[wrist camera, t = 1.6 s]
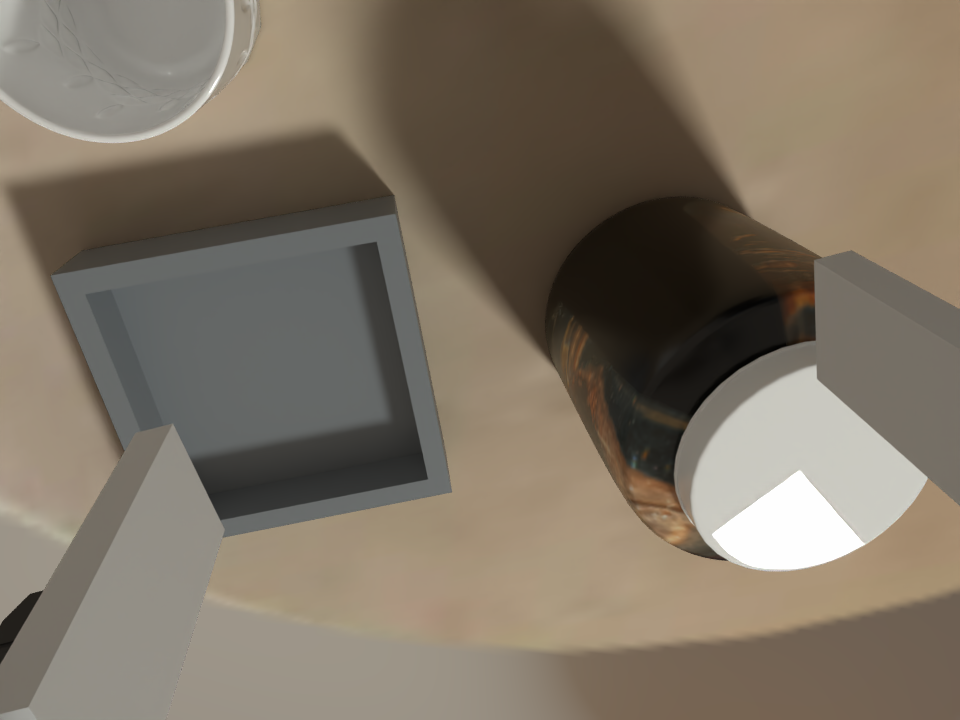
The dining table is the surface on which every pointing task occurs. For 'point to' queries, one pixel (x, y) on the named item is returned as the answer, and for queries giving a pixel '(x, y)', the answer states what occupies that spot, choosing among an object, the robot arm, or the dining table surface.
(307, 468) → the tray
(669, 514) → the jar
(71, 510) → the dining table surface
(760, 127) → the dining table surface
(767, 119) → the dining table surface
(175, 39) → the white cup
